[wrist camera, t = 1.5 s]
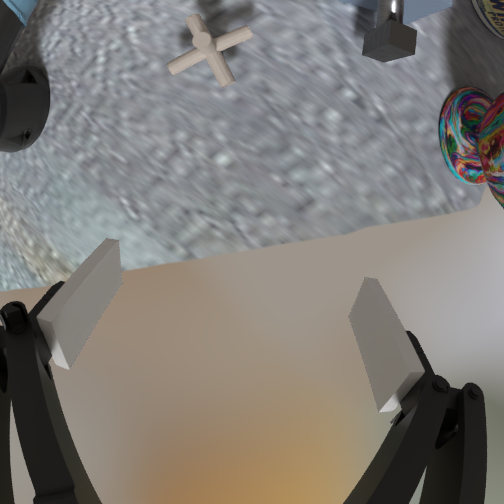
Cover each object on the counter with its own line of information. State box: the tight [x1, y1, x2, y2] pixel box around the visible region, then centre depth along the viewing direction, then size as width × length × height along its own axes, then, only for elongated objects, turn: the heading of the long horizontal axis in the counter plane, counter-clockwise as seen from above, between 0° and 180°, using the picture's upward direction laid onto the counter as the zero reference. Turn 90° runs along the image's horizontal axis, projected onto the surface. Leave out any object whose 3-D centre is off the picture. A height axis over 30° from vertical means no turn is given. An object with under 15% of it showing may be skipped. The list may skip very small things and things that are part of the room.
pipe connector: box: [167, 14, 253, 88], centre depth 26 cm, size 10×10×10 cm
